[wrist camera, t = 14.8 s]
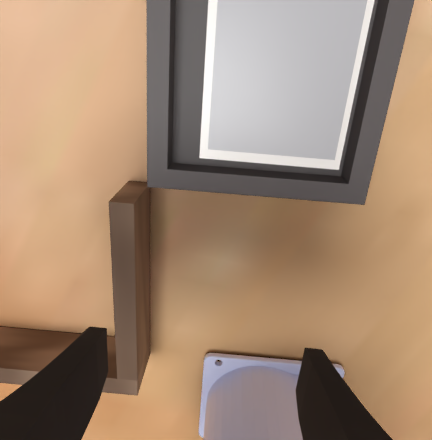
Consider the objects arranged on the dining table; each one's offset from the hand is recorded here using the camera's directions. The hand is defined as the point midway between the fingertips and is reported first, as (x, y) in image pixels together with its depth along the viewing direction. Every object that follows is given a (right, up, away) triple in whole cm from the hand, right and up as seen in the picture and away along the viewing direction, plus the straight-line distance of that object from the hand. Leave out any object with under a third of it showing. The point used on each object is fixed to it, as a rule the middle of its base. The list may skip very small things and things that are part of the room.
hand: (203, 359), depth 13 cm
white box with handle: (+3, +13, +4) cm, 14 cm away
